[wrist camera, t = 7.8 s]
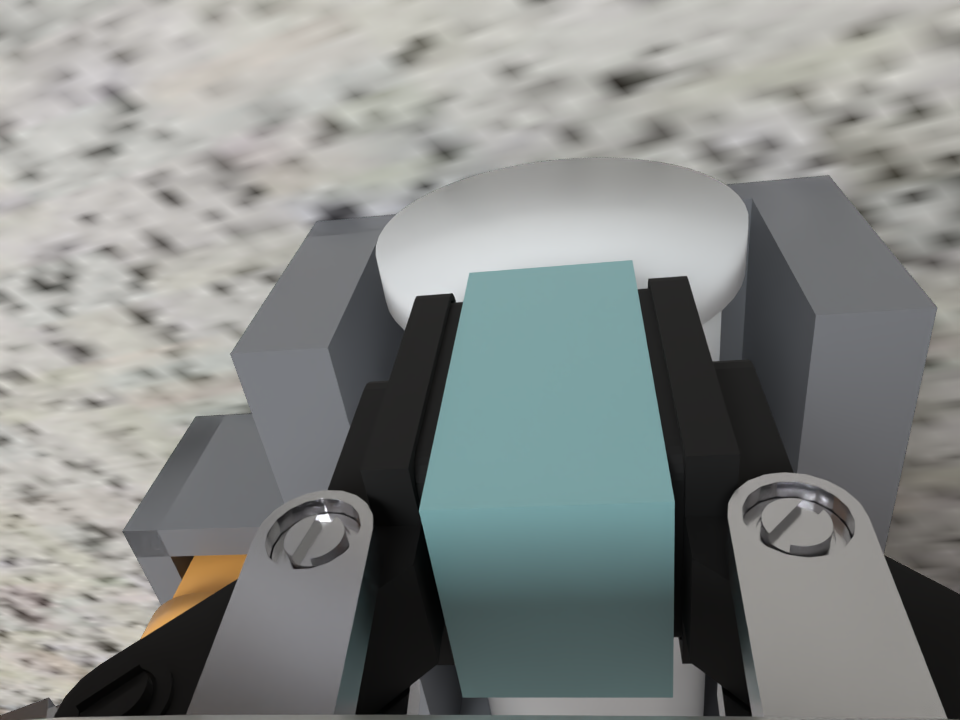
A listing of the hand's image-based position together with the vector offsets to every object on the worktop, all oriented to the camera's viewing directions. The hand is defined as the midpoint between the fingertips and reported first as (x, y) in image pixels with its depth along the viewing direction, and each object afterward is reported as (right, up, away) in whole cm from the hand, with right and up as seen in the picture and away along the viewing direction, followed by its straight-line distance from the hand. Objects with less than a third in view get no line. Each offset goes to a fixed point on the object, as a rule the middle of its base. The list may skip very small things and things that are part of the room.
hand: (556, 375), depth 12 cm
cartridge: (+2, -2, +11) cm, 11 cm away
